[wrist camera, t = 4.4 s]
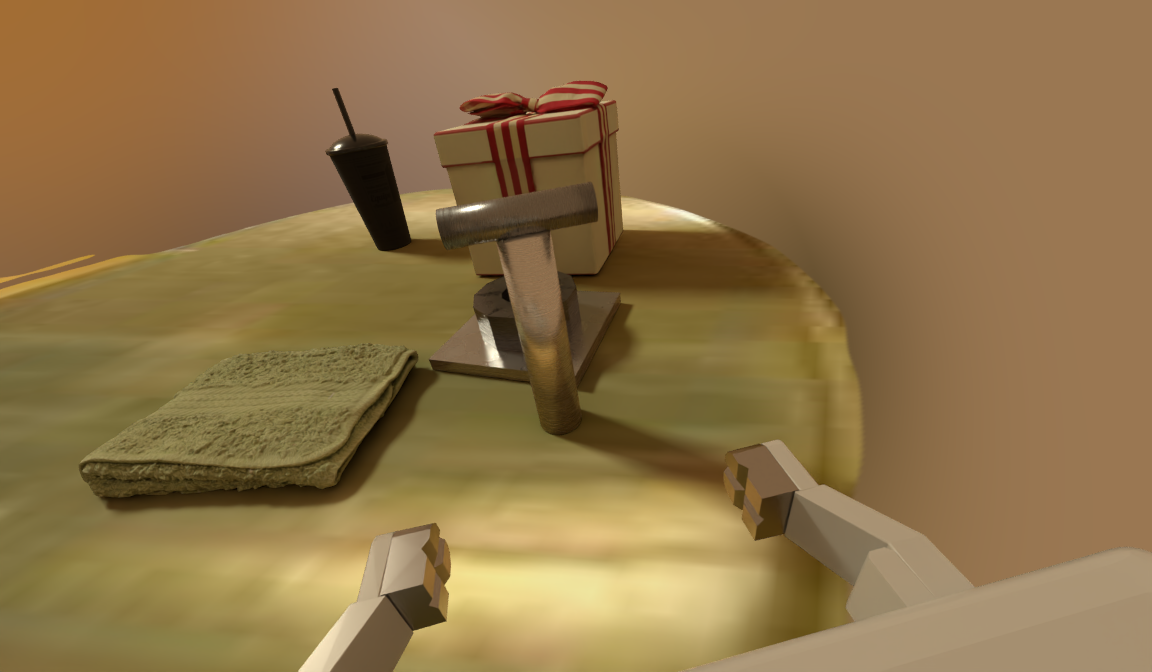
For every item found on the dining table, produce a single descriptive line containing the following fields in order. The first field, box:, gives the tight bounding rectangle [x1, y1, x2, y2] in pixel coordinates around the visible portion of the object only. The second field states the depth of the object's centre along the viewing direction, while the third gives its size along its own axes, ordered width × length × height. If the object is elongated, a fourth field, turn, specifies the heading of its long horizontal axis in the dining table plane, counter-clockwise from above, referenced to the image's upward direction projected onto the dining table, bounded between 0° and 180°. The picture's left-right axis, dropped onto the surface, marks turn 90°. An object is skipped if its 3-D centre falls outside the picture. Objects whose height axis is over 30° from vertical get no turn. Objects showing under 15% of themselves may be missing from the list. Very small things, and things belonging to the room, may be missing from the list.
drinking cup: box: [325, 88, 411, 251], centre depth 56 cm, size 8×8×20 cm
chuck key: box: [436, 182, 598, 435], centre depth 22 cm, size 7×3×14 cm, turn 100°
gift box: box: [434, 81, 623, 275], centre depth 47 cm, size 17×18×17 cm
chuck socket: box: [429, 271, 621, 387], centre depth 34 cm, size 12×12×4 cm
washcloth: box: [79, 343, 418, 497], centre depth 29 cm, size 13×18×3 cm
